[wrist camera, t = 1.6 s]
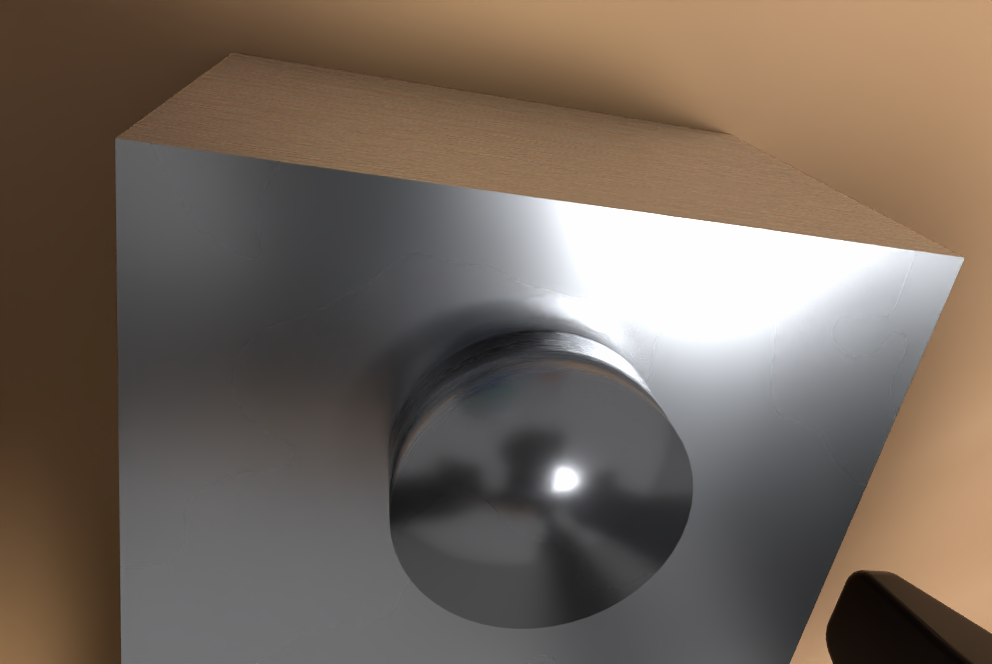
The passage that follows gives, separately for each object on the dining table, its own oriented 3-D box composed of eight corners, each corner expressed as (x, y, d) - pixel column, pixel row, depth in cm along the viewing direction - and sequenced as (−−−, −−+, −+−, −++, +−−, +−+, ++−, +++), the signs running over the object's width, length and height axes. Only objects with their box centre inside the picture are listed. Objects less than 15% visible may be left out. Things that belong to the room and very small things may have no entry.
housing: (551, 725, 12) (640, 1119, 8) (205, 722, 11) (107, 1166, 7) (721, 129, 9) (1034, 292, 5) (236, 49, 8) (76, 167, 4)
